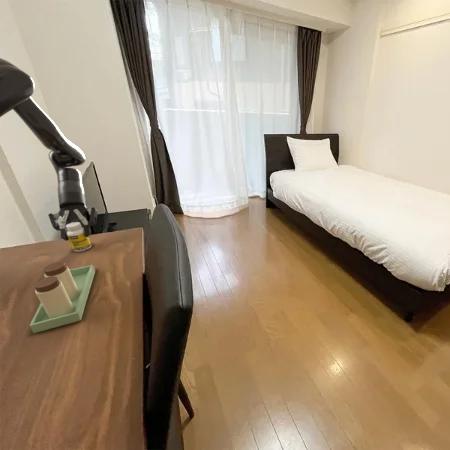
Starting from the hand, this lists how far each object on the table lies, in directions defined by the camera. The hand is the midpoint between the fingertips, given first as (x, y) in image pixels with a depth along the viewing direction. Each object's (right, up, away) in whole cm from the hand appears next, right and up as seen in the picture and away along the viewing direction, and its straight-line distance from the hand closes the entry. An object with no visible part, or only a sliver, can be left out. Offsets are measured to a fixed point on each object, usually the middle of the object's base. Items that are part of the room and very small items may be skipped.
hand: (76, 237), depth 95 cm
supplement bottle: (-1, -4, +4) cm, 6 cm away
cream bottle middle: (+14, -15, -20) cm, 29 cm away
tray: (+14, -16, -20) cm, 29 cm away
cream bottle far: (+17, -18, -26) cm, 36 cm away
